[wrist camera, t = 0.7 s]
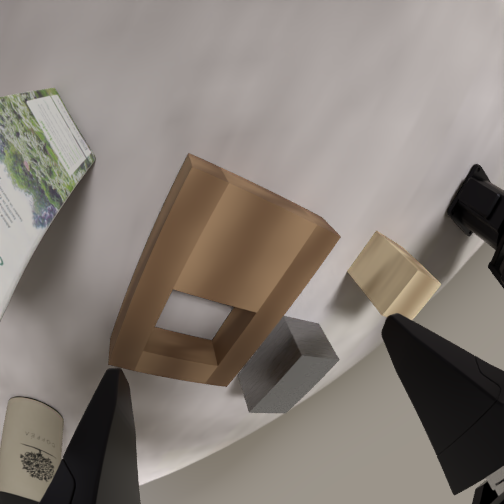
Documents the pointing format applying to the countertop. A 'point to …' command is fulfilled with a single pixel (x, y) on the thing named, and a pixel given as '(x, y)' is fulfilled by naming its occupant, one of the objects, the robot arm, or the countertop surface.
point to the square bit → (392, 278)
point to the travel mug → (29, 451)
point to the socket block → (217, 273)
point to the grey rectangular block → (286, 366)
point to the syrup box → (34, 176)
